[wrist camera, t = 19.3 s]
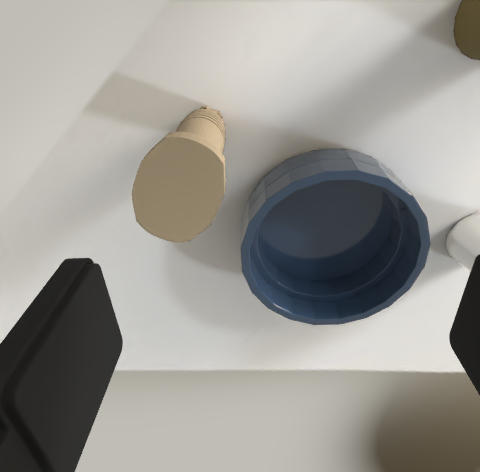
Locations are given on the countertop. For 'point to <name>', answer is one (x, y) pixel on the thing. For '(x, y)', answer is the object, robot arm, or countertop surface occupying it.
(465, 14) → the olive tapered shaker
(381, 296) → the bowl
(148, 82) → the countertop surface
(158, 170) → the handle
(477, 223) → the beer glass
